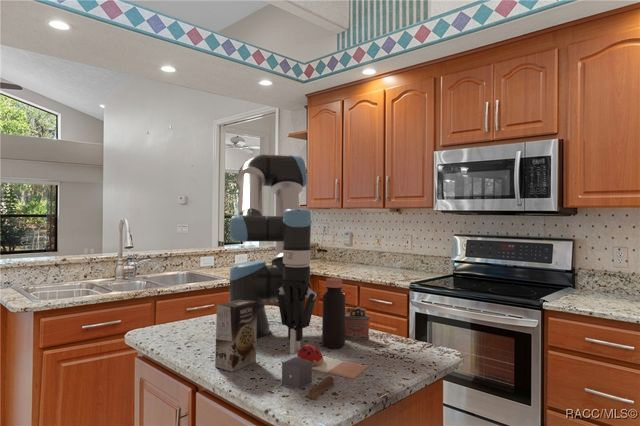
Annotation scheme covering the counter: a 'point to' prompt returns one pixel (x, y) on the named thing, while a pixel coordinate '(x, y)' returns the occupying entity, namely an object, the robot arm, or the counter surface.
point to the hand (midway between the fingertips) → (295, 352)
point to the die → (296, 373)
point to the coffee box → (236, 334)
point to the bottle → (333, 315)
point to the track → (337, 367)
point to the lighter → (356, 325)
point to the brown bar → (321, 387)
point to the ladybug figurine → (310, 354)
